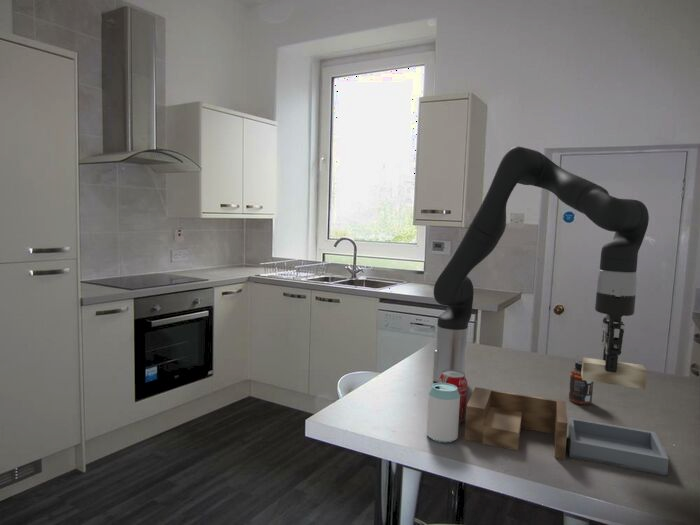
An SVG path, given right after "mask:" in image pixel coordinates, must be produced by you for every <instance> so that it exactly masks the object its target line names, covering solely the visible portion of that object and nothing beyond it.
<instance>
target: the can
mask: <svg viewBox="0 0 700 525" xmlns="http://www.w3.org/2000/svg"><path fill="white" fill-rule="evenodd" d="M457 389H458V388H457V387H456V386H455V385H452V384H449V383H438V382H436V383H432V384H431V388H430V390H429V391H428V400H427V419H426V435H427V437H429V438H430V439H431V438H432V439H434V440H436V441H435V442H437V441H440V442H439V443H441V442H449V443H451V442H450V441H452V442H454V441H455V440H457V439H458V437H459V424H460V423H459V406H460V394H459V392H458V391H457ZM432 439H431V440H432ZM434 440H433V441H434Z"/></svg>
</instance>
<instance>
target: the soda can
mask: <svg viewBox="0 0 700 525" xmlns="http://www.w3.org/2000/svg"><path fill="white" fill-rule="evenodd" d="M439 383H449V384H452V385H455V386H456V387H457V388H458V389H457V391H458V392H459V394H460V406H459V423H458V424H460V423H461V422H463V421H465V420H466V408H467V398H468V380H467V378H466V372H465V373H463V372H461V371H458V370H444V371H442V375H441V376H440V378H439Z"/></svg>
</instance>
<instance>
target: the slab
mask: <svg viewBox="0 0 700 525" xmlns="http://www.w3.org/2000/svg"><path fill="white" fill-rule="evenodd" d="M581 361H582V371H581V376H582V380H585V381H592V382H593V383H600V384H608V385H614V386H619V387H627V388H628V387H629V388H636V389H641V390H646V383H647V382H646V381H647V372H648V371H647V369H646V367H645V366H644V364H638V363H630V362H622V361H618V363H617V372H615V373H613V372H607V371H606V370H605V362H606V360H603V359H598V358H591V357H583V356H582V360H581Z"/></svg>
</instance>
